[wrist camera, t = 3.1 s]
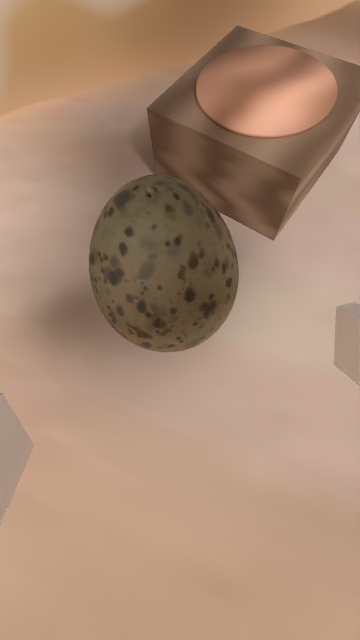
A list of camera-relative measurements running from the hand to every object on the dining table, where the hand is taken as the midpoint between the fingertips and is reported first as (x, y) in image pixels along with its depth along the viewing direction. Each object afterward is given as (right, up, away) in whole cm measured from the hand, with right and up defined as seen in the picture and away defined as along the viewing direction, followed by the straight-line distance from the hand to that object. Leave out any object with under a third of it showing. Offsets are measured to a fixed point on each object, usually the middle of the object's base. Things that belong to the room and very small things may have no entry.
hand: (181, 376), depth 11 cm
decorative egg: (-1, +3, +16) cm, 17 cm away
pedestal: (+8, +21, +23) cm, 32 cm away
